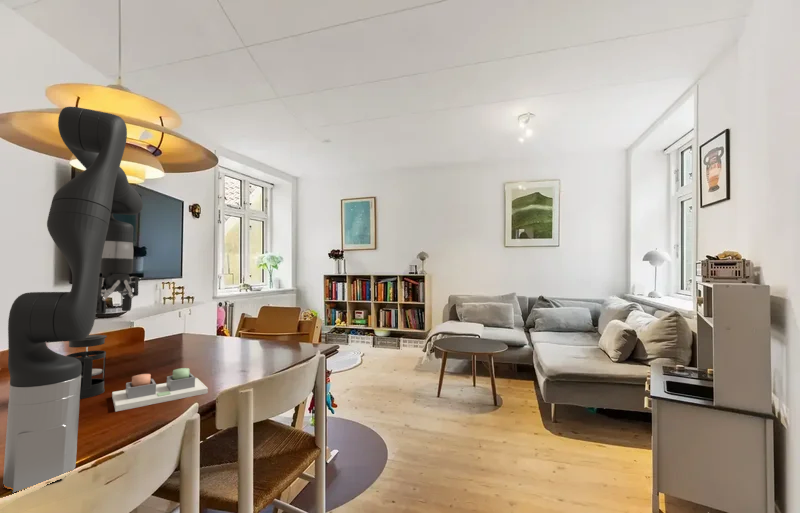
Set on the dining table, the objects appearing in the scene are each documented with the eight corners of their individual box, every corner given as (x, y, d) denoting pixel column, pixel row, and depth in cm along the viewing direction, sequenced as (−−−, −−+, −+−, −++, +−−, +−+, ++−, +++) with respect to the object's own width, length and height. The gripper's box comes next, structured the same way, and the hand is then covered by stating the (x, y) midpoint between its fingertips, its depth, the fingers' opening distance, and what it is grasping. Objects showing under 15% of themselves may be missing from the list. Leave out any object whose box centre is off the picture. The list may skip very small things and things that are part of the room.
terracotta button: (151, 386, 101) (151, 376, 101) (132, 390, 98) (132, 379, 98) (149, 383, 104) (149, 372, 104) (130, 386, 101) (131, 375, 101)
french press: (61, 393, 105) (66, 316, 106) (102, 386, 111) (106, 314, 112) (63, 404, 96) (68, 320, 98) (107, 395, 103) (111, 318, 104)
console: (207, 393, 107) (208, 378, 107) (115, 411, 92) (116, 394, 92) (196, 382, 117) (197, 368, 117) (112, 397, 102) (112, 381, 102)
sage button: (190, 380, 108) (190, 370, 108) (173, 382, 105) (174, 372, 105) (187, 376, 111) (187, 367, 111) (171, 379, 108) (171, 369, 108)
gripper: (107, 256, 95) (104, 315, 95) (147, 258, 110) (145, 310, 109) (81, 256, 96) (78, 315, 95) (125, 258, 110) (122, 309, 109)
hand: (114, 312), depth 102 cm, fingers open, 8 cm apart
